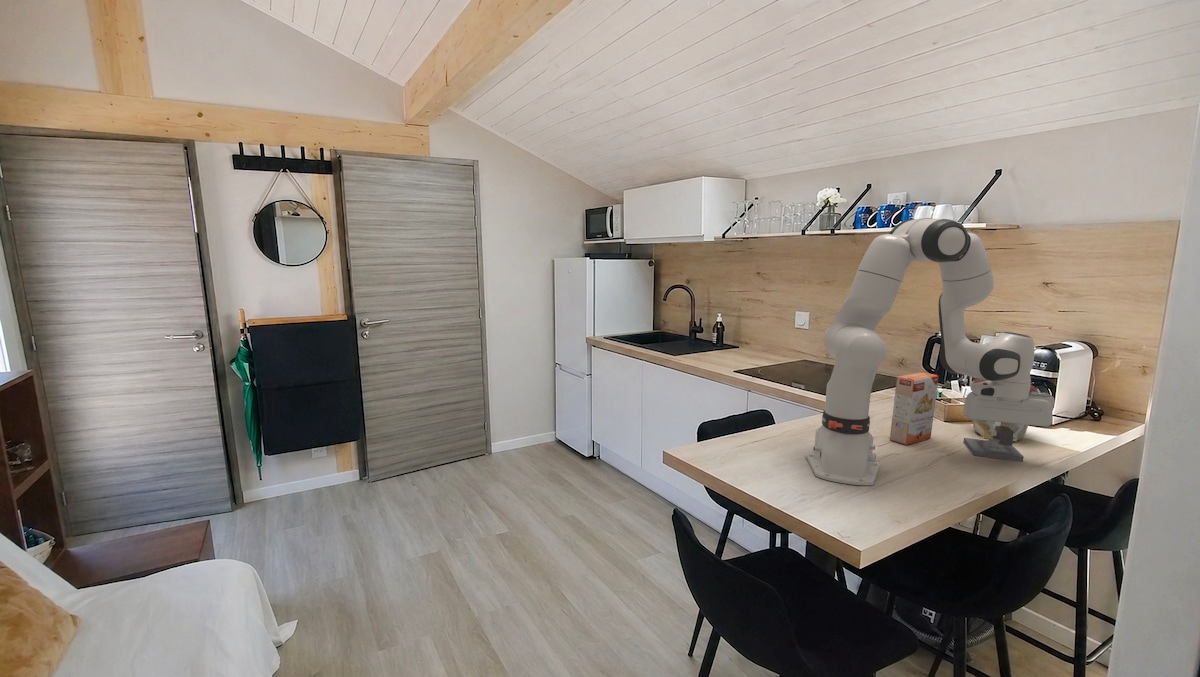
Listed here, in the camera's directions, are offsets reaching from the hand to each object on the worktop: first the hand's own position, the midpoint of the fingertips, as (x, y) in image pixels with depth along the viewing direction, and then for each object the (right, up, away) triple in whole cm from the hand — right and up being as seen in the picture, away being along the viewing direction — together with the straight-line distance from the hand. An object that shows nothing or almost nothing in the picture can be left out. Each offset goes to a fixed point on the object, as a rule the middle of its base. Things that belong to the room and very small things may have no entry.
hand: (1003, 437), depth 153 cm
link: (+2, -1, +5) cm, 5 cm away
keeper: (+3, -6, +8) cm, 10 cm away
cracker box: (-16, -4, +18) cm, 24 cm away
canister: (+15, -4, +22) cm, 27 cm away
